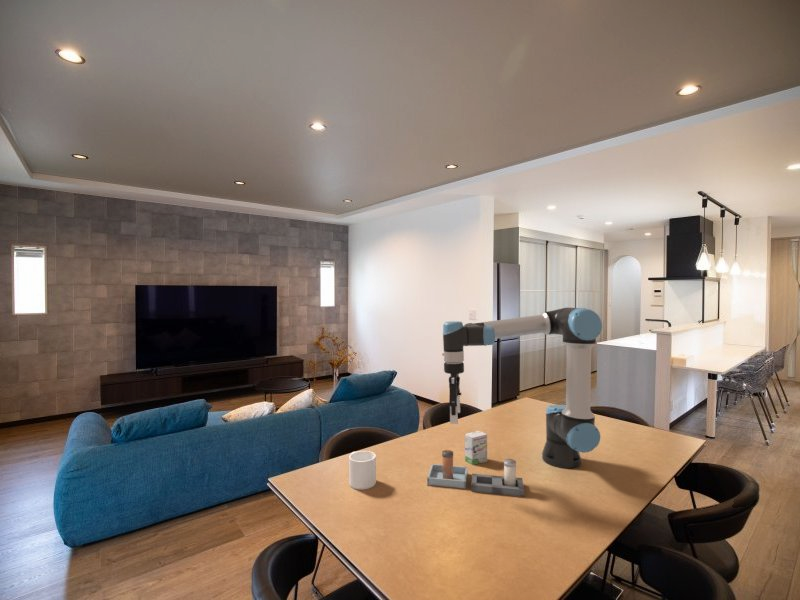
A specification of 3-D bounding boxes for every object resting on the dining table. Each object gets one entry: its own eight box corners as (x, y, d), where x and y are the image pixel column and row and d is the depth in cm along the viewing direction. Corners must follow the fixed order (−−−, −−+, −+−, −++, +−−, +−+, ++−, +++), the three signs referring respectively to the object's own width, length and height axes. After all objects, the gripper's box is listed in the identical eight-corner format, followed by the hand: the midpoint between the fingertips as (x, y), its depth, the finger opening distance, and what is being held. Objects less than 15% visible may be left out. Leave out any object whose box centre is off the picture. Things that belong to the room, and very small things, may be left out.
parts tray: (467, 474, 149) (467, 467, 149) (465, 489, 137) (465, 481, 137) (431, 471, 152) (431, 464, 152) (427, 486, 141) (427, 477, 141)
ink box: (472, 466, 157) (472, 437, 157) (464, 461, 161) (464, 433, 161) (488, 461, 161) (487, 433, 161) (480, 457, 165) (479, 430, 165)
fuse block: (522, 485, 140) (522, 478, 140) (524, 497, 132) (524, 490, 132) (472, 480, 144) (472, 473, 144) (471, 492, 136) (471, 484, 136)
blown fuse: (454, 476, 146) (453, 450, 146) (453, 481, 142) (452, 454, 142) (443, 475, 147) (442, 449, 147) (441, 480, 143) (441, 454, 143)
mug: (381, 484, 142) (380, 457, 142) (357, 493, 136) (357, 464, 136) (363, 472, 152) (363, 446, 152) (341, 479, 146) (340, 452, 146)
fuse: (515, 486, 139) (515, 459, 138) (516, 492, 134) (516, 464, 134) (503, 485, 139) (503, 458, 139) (504, 491, 135) (504, 463, 135)
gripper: (447, 356, 159) (448, 407, 159) (440, 368, 134) (442, 428, 134) (465, 356, 157) (466, 408, 157) (461, 368, 133) (463, 429, 133)
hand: (455, 417), depth 146 cm, fingers open, 13 cm apart
